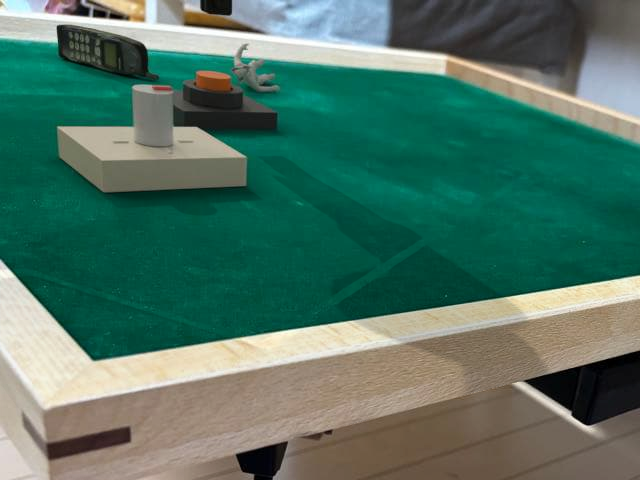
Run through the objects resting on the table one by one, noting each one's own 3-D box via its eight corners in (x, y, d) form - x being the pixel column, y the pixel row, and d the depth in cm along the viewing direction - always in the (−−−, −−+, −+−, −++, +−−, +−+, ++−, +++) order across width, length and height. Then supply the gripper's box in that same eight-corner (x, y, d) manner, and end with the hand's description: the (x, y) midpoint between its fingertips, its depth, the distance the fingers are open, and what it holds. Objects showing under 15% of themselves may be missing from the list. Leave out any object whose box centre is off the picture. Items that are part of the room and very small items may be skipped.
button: (205, 93, 106) (205, 78, 105) (190, 84, 108) (190, 70, 107) (236, 94, 108) (237, 79, 108) (221, 85, 111) (221, 71, 110)
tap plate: (103, 192, 80) (101, 158, 78) (58, 157, 86) (56, 124, 85) (246, 186, 89) (247, 155, 88) (196, 154, 96) (197, 125, 94)
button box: (184, 130, 103) (184, 95, 101) (148, 107, 109) (147, 74, 107) (277, 130, 111) (278, 97, 109) (238, 109, 117) (239, 78, 115)
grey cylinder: (143, 147, 84) (141, 90, 82) (127, 136, 86) (125, 80, 84) (180, 146, 87) (179, 91, 84) (163, 136, 89) (163, 81, 86)
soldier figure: (288, 93, 136) (279, 80, 124) (263, 111, 136) (252, 100, 124) (255, 48, 134) (243, 32, 122) (229, 67, 134) (215, 52, 122)
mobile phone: (51, 21, 120) (147, 43, 117) (67, 21, 122) (161, 42, 120) (55, 60, 122) (148, 82, 120) (71, 58, 125) (162, 80, 122)
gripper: (153, -180, 97) (157, -2, 106) (217, -168, 89) (215, 24, 98) (217, -166, 102) (216, 3, 111) (283, -153, 94) (276, 29, 103)
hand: (216, 13), depth 104 cm, fingers closed
